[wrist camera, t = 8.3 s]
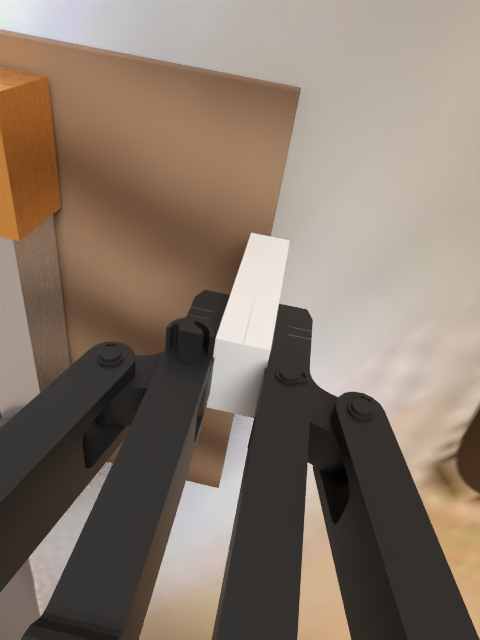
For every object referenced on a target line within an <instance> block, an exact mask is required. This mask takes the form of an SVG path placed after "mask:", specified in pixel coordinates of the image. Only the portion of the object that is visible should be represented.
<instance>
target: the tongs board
mask: <svg viewBox="0 0 480 640" xmlns="http://www.w3.org/2000/svg"><path fill="white" fill-rule="evenodd" d="M0 67H2V68H8V69H13V70H18V71H23V72H28V73H33V74H38V75H43V76H48V82H49V92H50V102H51V112H52V122H53V131H54V141H55V151H56V161H57V171H58V181H59V191H60V201H61V208H60V209H59V210H57V211H56V212H55V213H54V214H53V218H54V227H55V236H56V244H57V253H58V262H59V271H60V280H61V288H62V297H63V306H64V315H65V324H66V333H67V341H68V350H69V359H70V366H71V365H72V364H73V363H74V362H75V361H77V360H78V359H79V358H80V357H81V356H82V355H83V354H85V353H86V352H87V351H88V350H89V349H90V348H92V347H94V346H95V345H97V344H100V343H103V342H120V343H124V344H126V345H128V346H129V347H131V348H132V350H133V351H134V353H135V355H152V354H158V353H161V352H164V351H165V344H166V327H167V326H168V325H169V324H170V322H172V321H174V320H176V319H179V318H185V317H186V316H187V315H188V312H189V309H190V308H191V305H192V303H193V300H194V298H195V296H197V295H198V294H199V293H201V292H202V291H204V290H210V291H214V292H219V293H224V294H229V295H230V294H231V291H232V288H233V285H234V282H235V279H236V276H237V273H238V271H239V268H240V265H241V262H242V259H243V256H244V253H245V250H246V247H247V244H248V241H249V238H250V235H251V233H255V234H260V235H265V236H271V231H272V226H273V221H274V216H275V211H276V207H277V202H278V197H279V192H280V187H281V182H282V177H283V173H284V168H285V163H286V158H287V153H288V148H289V143H290V138H291V134H292V129H293V124H294V119H295V114H296V109H297V104H298V100H299V95H300V90H301V88H299V87H294V86H289V85H284V84H278V83H273V82H268V81H263V80H258V79H253V78H247V77H242V76H237V75H232V74H227V73H222V72H216V71H211V70H206V69H201V68H196V67H191V66H186V65H180V64H175V63H170V62H165V61H160V60H155V59H149V58H144V57H139V56H134V55H129V54H124V53H118V52H113V51H108V50H103V49H98V48H93V47H88V46H82V45H77V44H72V43H67V42H62V41H57V40H51V39H46V38H41V37H36V36H31V35H26V34H21V33H15V32H10V31H5V30H0ZM0 414H1V411H0ZM233 416H234V413H230V412H225V411H221V410H216V409H212V408H207V404H206V408H205V412H204V420H203V424H202V427H201V431H200V434H199V438H198V441H197V444H196V448H195V451H194V454H193V458H192V461H191V464H190V468H189V471H188V475H187V478H186V480H187V481H191V482H196V483H200V484H204V485H208V486H213V487H217V488H219V483H220V479H221V474H222V469H223V464H224V460H225V455H226V450H227V445H228V440H229V435H230V430H231V425H232V421H233ZM122 443H123V442H122ZM122 443H121V444H120V446H119V447H118V448H117V449H116V450H115V452H114V453H113V454H112V455H111V457H110V458H109V459H108V460H107V462H111V463H114V460H115V458H116V456H117V454H118V452H119V449H120V447H121V445H122Z"/></svg>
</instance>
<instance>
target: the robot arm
mask: <svg viewBox="0 0 480 640" xmlns="http://www.w3.org/2000/svg"><path fill="white" fill-rule="evenodd" d="M289 242H290V240H286V239H281V238H276V237H270V236H265V235H260V234H255V233H251V235H250V238H249V241H248V244H247V247H246V250H245V253H244V256H243V259H242V262H241V265H240V268H239V271H238V273H237V276H236V279H235V282H234V285H233V288H232V291H231V294H230V295H229V294H224V293H219V292H214V291H210V290H204V291H202V292H201V293H199V294H198V295H197V296H195V298H194V300H193V303H192V305H191V308H190V309H189V312H188V315H187V316H186V317H185V318H179V319H176V320H174V321H172V322H170V324H169V325H168V326H167V327H166V344H165V351H164V352H161V353H158V354H152V355H135V353H134V351H133V350H132V348H131V347H129V346H128V345H126V344H124V343H120V342H103V343H100V344H97V345H95V346H94V347H92V348H90V349H89V350H88V351H87V352H86V353H85V354H83V355H82V356H81V357H80V358H79V359H78V360H77V361H75V362H74V363H73V364H72V365H71V366H70V367H69V368H68V369H66V370H65V371H64V372H63V373H62V374H61V375H60V376H58V377H57V378H56V379H55V380H54V381H53V382H52V383H51V384H49V385H48V386H47V387H46V388H45V389H44V390H43V391H41V392H40V393H39V394H38V395H37V396H36V397H35V398H34V399H32V400H31V401H30V402H29V403H28V404H27V405H26V406H25V407H23V408H22V409H21V410H20V411H19V412H18V413H17V414H15V415H14V416H13V417H12V418H11V419H10V420H9V421H8V422H6V423H5V424H4V425H3V426H2V427H1V428H0V592H1V591H2V590H3V588H4V587H5V586H6V585H7V583H8V582H9V581H10V580H11V579H12V577H13V576H14V575H15V574H16V572H17V571H18V570H19V569H20V567H21V566H22V565H23V564H24V563H25V561H26V560H27V559H28V558H29V556H30V555H31V554H32V553H33V551H34V550H35V549H36V548H37V547H38V545H39V544H40V543H41V542H42V540H43V539H44V538H45V537H46V535H47V534H48V533H49V532H50V531H51V529H52V528H53V527H54V526H55V524H56V523H57V522H58V521H59V519H60V518H61V517H62V516H63V514H64V513H65V512H66V511H67V510H68V508H69V507H70V506H71V505H72V503H73V502H74V501H75V500H76V498H77V497H78V496H79V495H80V494H81V492H82V491H83V490H84V489H85V487H86V486H87V485H88V484H89V482H90V481H91V480H92V479H93V478H94V476H95V475H96V474H97V473H98V471H99V470H100V469H101V468H102V466H103V465H104V464H105V463H106V462H107V460H108V459H109V458H110V457H111V455H112V454H113V453H114V452H115V450H116V449H117V448H118V447H119V446H120V444H121V443H122V442H123V443H122V445H121V447H120V449H119V452H118V454H117V456H116V458H115V460H114V463H113V465H112V467H111V469H110V471H109V473H108V476H107V478H106V480H105V482H104V484H103V486H102V489H101V491H100V493H99V495H98V497H97V499H96V502H95V504H94V506H93V508H92V510H91V512H90V515H89V517H88V519H87V521H86V523H85V525H84V528H83V530H82V532H81V534H80V536H79V539H78V541H77V543H76V545H75V547H74V549H73V552H72V554H71V556H70V558H69V560H68V562H67V565H66V567H65V569H64V571H63V573H62V575H61V578H60V580H59V582H58V584H57V586H56V588H55V591H54V593H53V595H52V597H51V599H50V602H49V604H48V606H47V608H46V609H45V611H44V613H43V614H42V616H41V617H40V618H39V619H38V620H37V621H35V622H34V623H32V624H31V625H30V627H29V628H28V629H27V631H26V632H25V633H24V635H23V637H22V639H21V640H139V636H140V633H141V630H142V626H143V623H144V619H145V616H146V613H147V609H148V606H149V603H150V599H151V596H152V592H153V589H154V586H155V582H156V579H157V576H158V572H159V569H160V566H161V562H162V559H163V555H164V552H165V549H166V545H167V542H168V539H169V535H170V532H171V528H172V525H173V522H174V518H175V515H176V512H177V508H178V505H179V502H180V498H181V495H182V491H183V488H184V485H185V481H186V478H187V475H188V471H189V468H190V464H191V461H192V458H193V454H194V451H195V448H196V444H197V441H198V438H199V434H200V431H201V427H202V424H203V420H204V412H205V408H206V404H207V408H212V409H216V410H221V411H225V412H230V413H235V414H239V415H244V416H248V417H253V418H254V422H253V426H252V431H251V435H250V439H249V444H248V451H247V457H246V462H245V467H244V472H243V478H242V483H241V488H240V494H239V499H238V504H237V509H236V515H235V520H234V525H233V531H232V536H231V541H230V546H229V552H228V557H227V562H226V568H225V573H224V578H223V583H222V589H221V594H220V599H219V605H218V610H217V615H216V620H215V626H214V631H213V636H212V640H297V632H298V615H299V598H300V581H301V564H302V547H303V530H304V513H305V496H306V478H307V462H308V463H310V464H312V465H313V471H314V476H315V480H316V485H317V489H318V493H319V498H320V502H321V507H322V511H323V516H324V520H325V525H326V529H327V533H328V538H329V542H330V547H331V551H332V556H333V560H334V564H335V569H336V573H337V578H338V582H339V587H340V591H341V596H342V600H343V604H344V609H345V613H346V618H347V622H348V627H349V631H350V635H351V640H479V637H478V635H477V632H476V630H475V628H474V625H473V623H472V620H471V618H470V616H469V613H468V611H467V608H466V606H465V604H464V601H463V599H462V596H461V594H460V592H459V589H458V587H457V584H456V582H455V579H454V577H453V575H452V572H451V570H450V567H449V565H448V563H447V560H446V558H445V555H444V553H443V551H442V548H441V546H440V543H439V541H438V539H437V536H436V534H435V531H434V529H433V527H432V524H431V522H430V519H429V517H428V514H427V512H426V510H425V507H424V505H423V502H422V500H421V498H420V495H419V493H418V490H417V488H416V486H415V483H414V481H413V478H412V476H411V474H410V471H409V469H408V466H407V464H406V462H405V459H404V457H403V454H402V452H401V449H400V447H399V445H398V442H397V440H396V437H395V435H394V433H393V430H392V428H391V425H390V423H389V421H388V418H387V416H386V413H385V411H384V410H383V408H382V406H381V405H380V404H379V403H378V402H377V401H376V400H375V399H373V398H372V397H370V396H368V395H366V394H363V393H358V392H347V393H344V394H342V395H341V396H339V398H338V397H336V396H334V395H332V394H330V393H328V392H326V391H325V390H323V389H321V388H320V387H319V386H318V385H317V384H316V383H315V382H314V381H313V379H312V377H311V374H310V353H311V337H312V321H313V320H312V318H311V316H310V314H309V312H308V310H307V309H302V308H297V307H292V306H287V305H282V304H279V300H280V294H281V289H282V283H283V277H284V271H285V266H286V260H287V254H288V248H289Z"/></svg>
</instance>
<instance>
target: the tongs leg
mask: <svg viewBox="0 0 480 640" xmlns="http://www.w3.org/2000/svg"><path fill="white" fill-rule="evenodd" d="M60 208H61V201H60V191H59V181H58V171H57V161H56V151H55V141H54V131H53V122H52V112H51V102H50V92H49V82H48V76H43V75H38V74H33V73H28V72H23V71H18V70H13V69H8V68H2V67H0V411H1V414H0V428H1V427H2V426H3V425H4V424H5V423H6V422H8V421H9V420H10V419H11V418H12V417H13V416H14V415H15V414H17V413H18V412H19V411H20V410H21V409H22V408H23V407H25V406H26V405H27V404H28V403H29V402H30V401H31V400H32V399H34V398H35V397H36V396H37V395H38V394H39V393H40V392H41V391H43V390H44V389H45V388H46V387H47V386H48V385H49V384H51V383H52V382H53V381H54V380H55V379H56V378H57V377H58V376H60V375H61V374H62V373H63V372H64V371H65V370H66V369H68V368H69V367H70V359H69V350H68V341H67V333H66V324H65V315H64V306H63V297H62V288H61V280H60V271H59V262H58V253H57V244H56V236H55V227H54V218H53V214H54V213H55V212H56V211H57V210H59V209H60Z"/></svg>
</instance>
